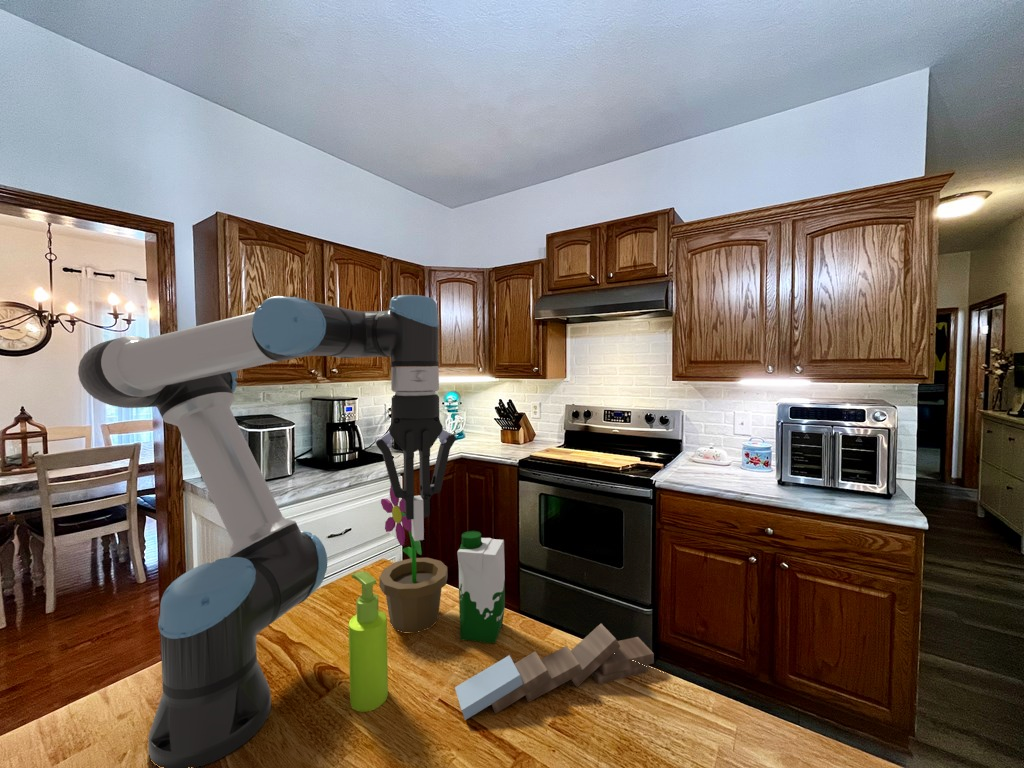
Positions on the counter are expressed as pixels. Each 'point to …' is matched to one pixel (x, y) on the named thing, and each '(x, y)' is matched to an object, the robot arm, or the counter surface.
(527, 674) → the domino
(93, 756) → the counter surface
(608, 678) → the domino
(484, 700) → the domino
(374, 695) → the soap dispenser
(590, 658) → the domino
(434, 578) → the flowerpot
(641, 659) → the domino
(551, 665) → the domino
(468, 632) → the milk carton
